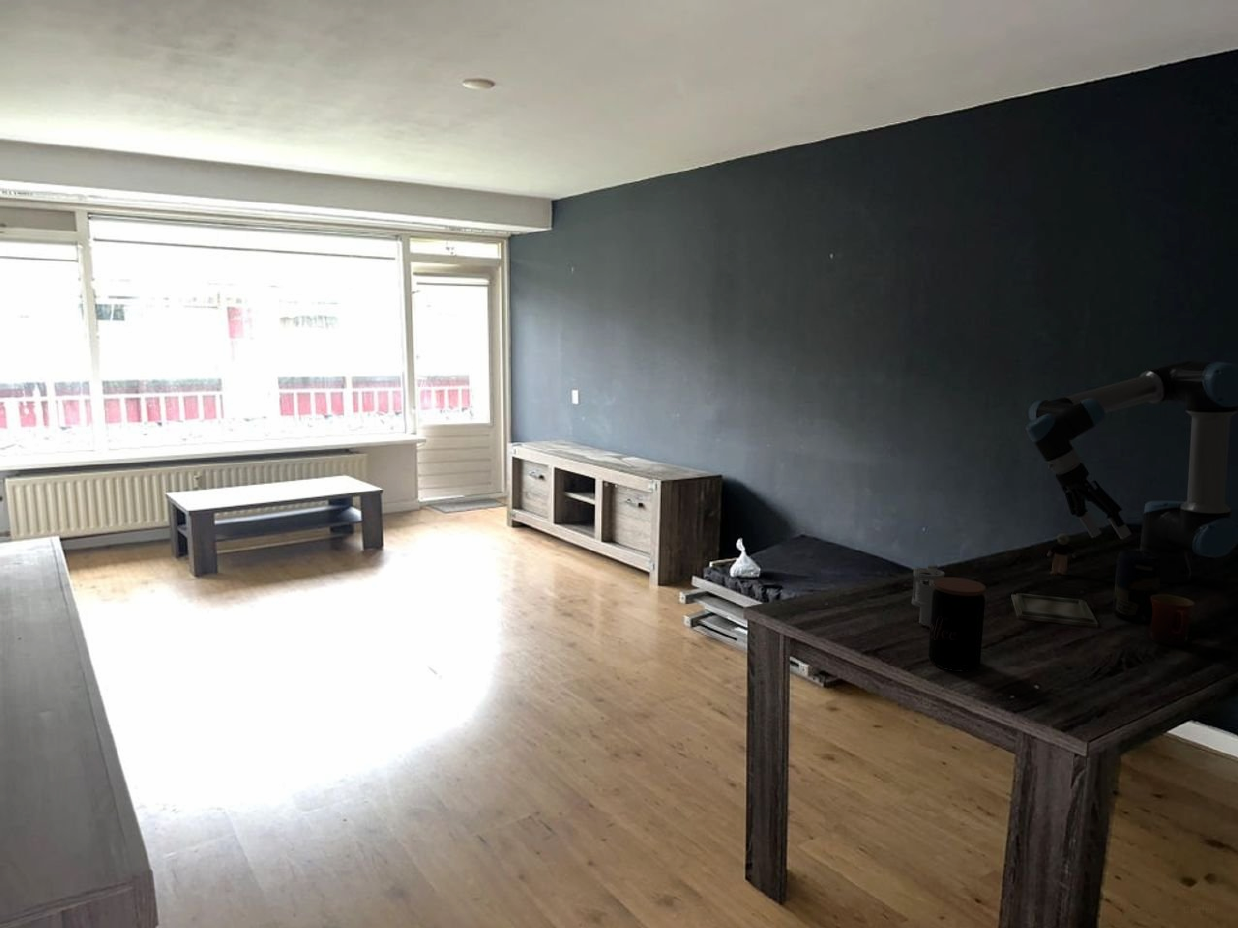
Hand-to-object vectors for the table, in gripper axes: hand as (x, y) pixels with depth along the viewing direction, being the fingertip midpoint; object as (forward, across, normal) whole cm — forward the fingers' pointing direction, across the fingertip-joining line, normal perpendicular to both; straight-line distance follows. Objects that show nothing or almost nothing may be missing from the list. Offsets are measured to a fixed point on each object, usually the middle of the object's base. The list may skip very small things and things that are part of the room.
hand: (1111, 536), depth 219 cm
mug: (+20, +26, -15) cm, 36 cm away
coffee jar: (-6, +39, -64) cm, 75 cm away
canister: (+18, +8, -10) cm, 22 cm away
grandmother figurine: (+11, -30, -5) cm, 32 cm away
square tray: (+7, +5, -26) cm, 27 cm away
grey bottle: (-10, +16, -59) cm, 62 cm away
